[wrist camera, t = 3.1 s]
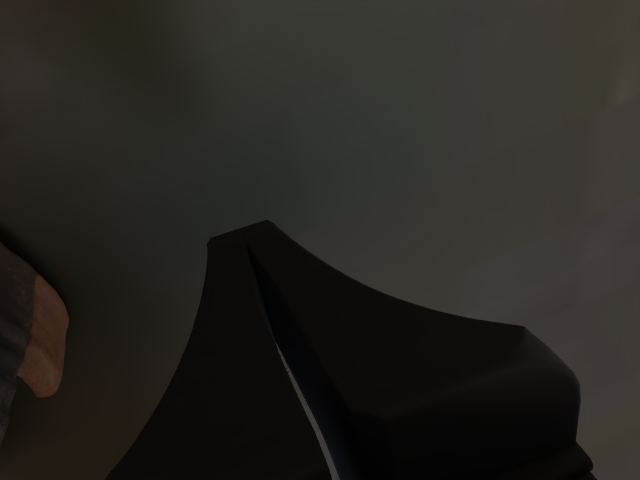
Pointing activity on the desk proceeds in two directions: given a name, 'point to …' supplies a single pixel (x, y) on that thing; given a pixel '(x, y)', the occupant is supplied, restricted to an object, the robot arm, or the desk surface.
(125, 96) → the desk surface
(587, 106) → the desk surface
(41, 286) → the pottery mug
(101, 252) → the desk surface
